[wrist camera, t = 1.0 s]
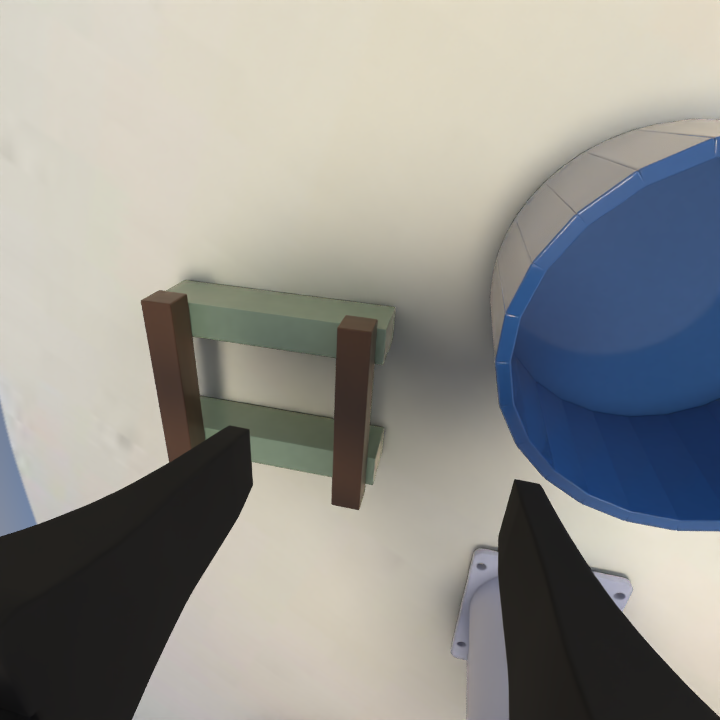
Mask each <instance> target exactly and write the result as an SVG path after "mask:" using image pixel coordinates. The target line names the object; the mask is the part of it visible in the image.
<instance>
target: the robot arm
mask: <svg viewBox="0 0 720 720" xmlns="http://www.w3.org/2000/svg"><path fill="white" fill-rule="evenodd" d="M252 486H253V479H252V462H251V445H250V429H246V428H241V427H236V426H231V425H229V426H227V427H226V428H224V429H222V430H221V431H219V432H217V433H216V434H214V435H213V436H211V437H209V438H208V439H206V440H205V441H203V442H202V443H200V444H198V445H197V446H195V447H194V448H192V449H191V450H189V451H187V452H186V453H184V454H182V455H181V456H179V457H178V458H176V459H174V460H173V461H171V462H169V463H168V464H166V465H164V466H163V467H161V468H159V469H157V470H155V471H154V472H152V473H150V474H148V475H147V476H145V477H143V478H141V479H139V480H138V481H136V482H134V483H132V484H130V485H128V486H126V487H125V488H123V489H121V490H119V491H117V492H115V493H112V494H110V495H108V496H106V497H104V498H102V499H100V500H97V501H95V502H93V503H91V504H88V505H86V506H84V507H81V508H79V509H76V510H74V511H71V512H69V513H66V514H64V515H61V516H59V517H56V518H54V519H51V520H48V521H46V522H43V523H40V524H38V525H35V526H32V527H29V528H26V529H23V530H20V531H17V532H14V533H11V534H7V535H4V536H1V537H0V720H132V718H133V716H134V713H135V711H136V709H137V707H138V704H139V702H140V700H141V698H142V695H143V693H144V691H145V688H146V686H147V684H148V682H149V679H150V677H151V675H152V673H153V671H154V668H155V666H156V664H157V662H158V660H159V658H160V656H161V654H162V651H163V649H164V647H165V645H166V643H167V641H168V639H169V637H170V634H171V632H172V630H173V628H174V626H175V624H176V622H177V620H178V618H179V616H180V614H181V612H182V610H183V608H184V606H185V604H186V602H187V601H188V599H189V597H190V595H191V593H192V592H193V590H194V588H195V586H196V585H197V583H198V582H199V580H200V578H201V577H202V575H203V574H204V572H205V570H206V569H207V567H208V566H209V564H210V562H211V561H212V559H213V557H214V556H215V554H216V553H217V551H218V549H219V548H220V546H221V545H222V543H223V541H224V540H225V538H226V537H227V535H228V533H229V532H230V530H231V528H232V527H233V525H234V523H235V522H236V520H237V518H238V517H239V515H240V512H241V510H242V508H243V506H244V504H245V502H246V499H247V497H248V495H249V493H250V490H251V488H252ZM479 563H482V564H479ZM632 592H633V587H632V584H631V582H630V581H629V580H628V579H626V578H623V577H618V576H614V575H609V574H604V573H599V572H594V571H592V570H591V569H590V567H589V566H588V564H587V563H586V561H585V560H584V558H583V557H582V555H581V553H580V552H579V550H578V549H577V547H576V545H575V544H574V542H573V541H572V539H571V538H570V536H569V534H568V533H567V531H566V529H565V528H564V526H563V524H562V522H561V521H560V519H559V517H558V515H557V514H556V512H555V510H554V508H553V507H552V505H551V503H550V501H549V499H548V497H547V495H546V494H545V492H544V490H543V488H542V487H541V485H540V484H537V483H532V482H527V481H521V480H516V479H514V483H513V486H512V490H511V494H510V497H509V501H508V504H507V508H506V511H505V515H504V518H503V522H502V526H501V529H500V533H499V537H498V551H493V550H488V549H477V550H475V551H474V553H473V557H472V561H471V565H470V570H469V574H468V578H467V582H466V586H465V591H464V595H463V599H462V603H461V607H460V612H459V616H458V620H457V624H456V628H455V632H454V637H453V641H452V645H451V654H452V655H453V656H454V657H456V658H459V659H463V660H467V693H466V720H720V717H719V716H718V715H717V714H716V713H715V712H714V711H713V710H712V709H711V708H710V707H709V706H708V705H706V704H705V703H704V702H703V701H702V700H701V699H700V698H699V697H698V696H697V695H696V694H695V693H694V692H693V691H692V690H691V689H690V688H689V687H688V686H687V685H686V684H685V683H684V682H683V681H682V679H681V678H680V677H679V676H678V675H677V674H676V673H675V672H674V671H673V670H672V669H671V668H670V667H669V665H668V664H667V663H666V662H665V661H664V660H663V659H662V658H661V657H660V656H659V655H658V654H657V653H656V652H655V650H654V649H653V648H652V647H651V646H650V645H649V644H648V643H647V641H646V640H645V639H644V638H643V637H642V636H641V635H640V633H639V632H638V631H637V630H636V629H635V627H634V626H633V625H632V624H631V622H630V621H629V620H628V619H627V618H626V616H625V615H624V614H623V613H622V612H623V610H624V608H625V606H626V604H627V602H628V600H629V598H630V596H631V594H632Z"/></svg>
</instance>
